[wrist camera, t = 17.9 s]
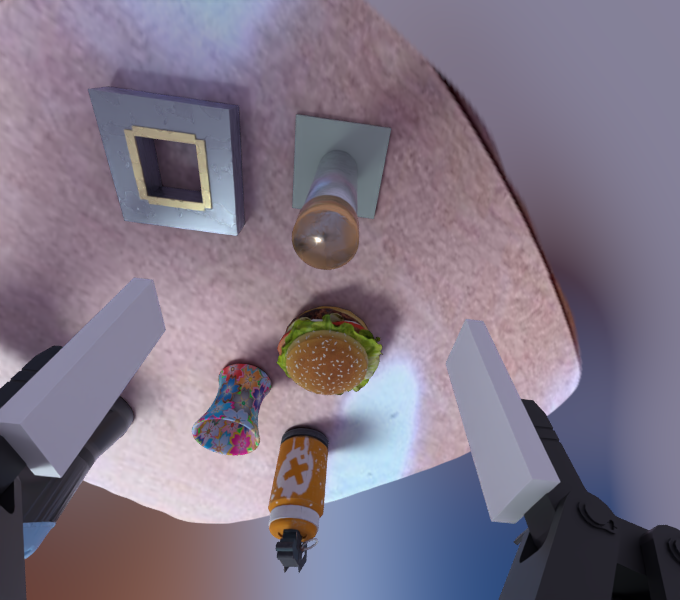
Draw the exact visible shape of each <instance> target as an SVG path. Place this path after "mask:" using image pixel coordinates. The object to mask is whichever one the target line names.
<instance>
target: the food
mask: <svg viewBox="0 0 680 600" xmlns="http://www.w3.org/2000/svg"><path fill="white" fill-rule="evenodd" d="M377 341H380V338H379V337H376V339H374V337H373V335H372V333H371V332H370V331H368V329H367V327H366V325H365V323H364V322H363V321H362V320H361V319H360V318H358V317H357V316H356V315H354V314H353V313H352V312H350V311H348V310H344V309H341V308H338V307H327V306H322V307H318V308H315V309H311V310H308V311H305V312H304V313H302V314H301V315H300V316H298V317H297V318H295V319H294V320H293V321H292V322H291V323H290V324H289V326H288V327H287V329H286V332H285V335H284V336H283V337H282V339H281V341H280V342H279V345H278V348H277V349H278V352H279V357H278V362H276V363H277V364H278V365H279V366H280V367H281V368H282V369H283V370H284V371H285V374H286V375H287V376H288V377H289V378H292V380H293V381H294V382H296V384H298V385H299V386H301V387H303V388H304V389H305V390H308V391H310V392H313V393H316V394H324V395H334V394H335V395H342V394H343V393H344V392H346V391H348V392H349V391H351V390H352V389H353V390H354V391H355V392H357V391H359V390H360V389H361V388H362V387H364V386H365V385H366V384H367V383H368V381H369V378H371V377H372V376H373V374H374V372H375V370H376V369H377V367H378V364H379V362H380V360H379V355H380V354H382V353H381V350H382V345H381V344H377ZM382 355H383V354H382Z"/></svg>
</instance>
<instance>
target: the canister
mask: <svg viewBox="0 0 680 600" xmlns="http://www.w3.org/2000/svg"><path fill="white" fill-rule="evenodd" d="M328 444H329V443H328V439H327V438H326V437H325V436H324V435H323V434H322V433H320V432H318V431H315V430H312V429H305V428H299V429H293V430H290V431H288V432H286V433H285V434H284V435H283V437H282V441H281V446H280V451H279V456H278V461H277V466H276V471H275V476H274V481H273V486H272V491H271V496H270V501H269V506H268V509H269V511H270V519H269V529H270V532H271V534H272V535H273V536H274V537H276V538H278V539H280V542H277V544H276V551H278V552H277V558H278V560H280V561H281V563H282V564H283V566H284V572H286V570H287V569H288V568H289V567H298V570H299V572H300V571H301V569H302V567H303V566H304V564H305V563H306V556H307V550H308V549H311V548H312V547H314V546H315V545H316V544H317V543H318V540H317V538H314V537H315V535H316V533H317V532H318V528H319V518H320V517H321V516H322V515H323V510H324V509H323V508H324V497H325V484H326V470H327V457H328ZM313 540H316V543H315V544H314V545H312V546H311V547H308V548H307V543H308V542H310V541H313ZM301 543H303V544H302V545H301ZM304 551H305V555H304V557H303V559H302V553H303V552H304Z"/></svg>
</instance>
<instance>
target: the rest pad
mask: <svg viewBox="0 0 680 600" xmlns="http://www.w3.org/2000/svg"><path fill="white" fill-rule="evenodd" d="M390 132H391V128H388V127H381V126H374V125H368V124H361V123H354V122H347V121H340V120H334V119H327V118H320V117H313V116H306V115H300V114H297V115H296V130H295V155H294V180H293V205H292V208H297V209H302V207H303V206H304V203H305V201H306V198H307V195H308V192H309V190H310V187H311V184H312V182H313V179H314V176H315V174H316V171H317V168H318V165H319V163H320V160H321V159H322V157H323V156H324V155H325V154H326V153H328V152H330V151H333V150H342V151H345V152H347V153H349V154H350V155H351V156H352V157H353V158H354V160H355V162H356V164H357V217H363V218H371V219H374V215H375V209H376V204H377V199H378V194H379V189H380V184H381V179H382V173H383V168H384V163H385V158H386V153H387V148H388V143H389V137H390Z"/></svg>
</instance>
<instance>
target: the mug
mask: <svg viewBox="0 0 680 600" xmlns="http://www.w3.org/2000/svg"><path fill="white" fill-rule="evenodd" d="M218 380H219V390H218V393H217V396H216V398H215V400H214V402H213V404H212V405H211V407H210V408H209V409H208V411H207V412H206V413H205V414H204V415H203V416H202V417H201V418H200V419H199V420H198V421H197V422H196V423H195V424H194V425H193V428H192V434H193V437H194V438H195V440H196V441H197V442H198V443H199V444H200V445H202V446H203V447H205V448H207V449H209V450H211V451H213V452H216V453H220V454H225V455H244V454H248V453H250V452H252V451H254V450H255V449H256V448H257V447H258V446H259V443H260V436H259V431H258V413H259V409H260V405H261V403H262V401H263V399H264V397H265V396H266V395H267V394H268V393H269V392H270V390H271V381H270V379H269V377H268V376H267V374H266V373H265V372H263V371H262V370H261V369H259V368H257V367H255V366H252V365H248V364H233V365H229V366H227V367H225V368H224V369H223V370H222V371H221V372H220V374H219V378H218Z"/></svg>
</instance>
